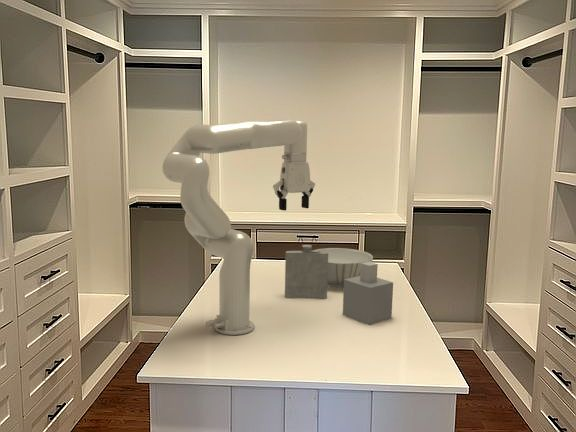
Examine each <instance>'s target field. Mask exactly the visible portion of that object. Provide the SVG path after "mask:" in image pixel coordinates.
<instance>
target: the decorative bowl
mask: <svg viewBox="0 0 576 432" xmlns="http://www.w3.org/2000/svg"><path fill="white" fill-rule="evenodd" d="M314 250H315V251H320V252H328V280H327V287H330V288H339V289H342V288H343V289H344V279H348V278H353V277H357V276H360V269H361V263H365V262H372V263H373V259H374V255H372V254H371V253H370V252H367V251H363V250H360V249H356V248H355V249H353V248H345V247H344V248H343V247H341V248H340V247H327V248H317V249H314Z"/></svg>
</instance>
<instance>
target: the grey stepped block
mask: <svg viewBox="0 0 576 432" xmlns="http://www.w3.org/2000/svg"><path fill="white" fill-rule="evenodd" d="M378 266H379V264H378V263H375V262H373V261H372V262H365V263H361V269H360V276H357V277H353V278H348V279H344V288H343V295H342V296H343V297H342V315H343V316H345V317H347V318H350V319H352V320H355V321H357V322H360V323H362V324H365V325H367V324H368V325H367V326H369V325H373V324H376V323H380V322H384V321H386V320H390V319H392V314H393V295H394V292H393V291H394V282H392V281H390V280H386V279H383V278H379V277H378Z"/></svg>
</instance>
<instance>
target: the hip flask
mask: <svg viewBox="0 0 576 432" xmlns="http://www.w3.org/2000/svg"><path fill="white" fill-rule="evenodd" d="M301 246H302V250H286V251H285V259H284V260H285V261H284V262H285V264H284V266H285V268H284V269H285V271H284V273H285V275H284V298H285V299H315V300H316V299H317V300H326V299H327V298H328V286H327V280H328V252H320V251H315V250H316V249H313V250H312V248H313V245H312V244H302V245H301Z"/></svg>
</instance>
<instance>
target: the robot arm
mask: <svg viewBox="0 0 576 432" xmlns="http://www.w3.org/2000/svg"><path fill="white" fill-rule="evenodd" d="M282 146H283V154H282V155H281V159H282V160H283V162H282V164H281V167H280V177H279V180H278V181H277V182H276V183H275V184H273V186H272V188H273V190H274V193H275V195H276V196H277V198H278V209H279V210H280V211H287V206H288V205H287V203H288V202H287V201H288V200H287V198H286V197H287V196H288V194H296V193H301V194H302V195H301V206H300V207H301V208H303V209H309V208H310V197H311V195H312V194H313V192H314V188H315V186H316V183H315V182H313V181H312V180H311V170H310V165H309V162H307V157H308V155H307V147H308V124H307V122H306V121H304V120H293V119H269V120H266V121H249V120H248V121H236V122H235V121H234V122H227V123H216V124H215V123H214V124H193V125H192V126H190V127H189V128H188V129H187V130H186V131H185V132H183V135H182V136H181V137H180V138H179V139H178V140H177V142H176V143H175V145H174V146H173V147H172V148H171V150H170V151H169V152H168V154H166V156H165V158H164V160H163V162H162V172H163V175H164V177H165V178H166V179H167V180H169V181H171V182H173V183H180V184H181V186H180V197H179V198H180V199H179V200H180V204H181V207H182V209H183V210H184V211H185V214H184V221H183V222H184V226H185V229H186V230H187V233H189V234H190V235H191V236H192V238H194V240H195V241H197V242H198V244H199V245H200V246H201V247H202V248H203V249H204V250H205V251H206V252H207V253H209V254H210V255H213V256H215V257H218V258H220V259H221V258H222V259H223V261H222V264H221V266H220V269H219V279H218V280H219V281H218V282H219V283H218V284H219V311H218V312H219V313H218V314H216V317H215V318H214V319H211V320H207V321H205V327H206V328H212V327H213V328H214V330H215V331H216V332H217V333H220V334H224V335H226V336H227V335H228V336H230V335H231V336H240V335H245V334H248V333H251V332H252V331H254V329H255V323H254V322H253V321H252V320H251V319H250V302H251V301H250V297H251V296H250V295H251V294H250V293H251V291H250V289H251V288H250V287H251V286H250V285H251V283H250V282H251V281H250V280H251V279H250V278H251V274H250V273H251V271H250V270H251V264H252V263H251V262H252V256H253V251H254V242H253V239H252V238H251V237H250V236H249V235H248V234H247V233H245V232H243V231H241V230H236V229H233V228H232V223H231V219H230V218H229V216H228V215H227V213H226V212H225V211H224V210H223V209H222V208H221V207H220V206H219V205H218V203H217V202H216V201H215V200H214V198H213V197H212V196H211V195H210V193H209V190H208V183H209V177H210V167H209V164H208V162H207V160H206V159H204V157H201V156H200V155H201V154H209V155H214V154H217V155H218V154H222V153H223V154H224V153H229V152H236V151H238V152H239V151H245V150H256V149H263V148H271V147H272V148H273V147H282Z"/></svg>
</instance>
